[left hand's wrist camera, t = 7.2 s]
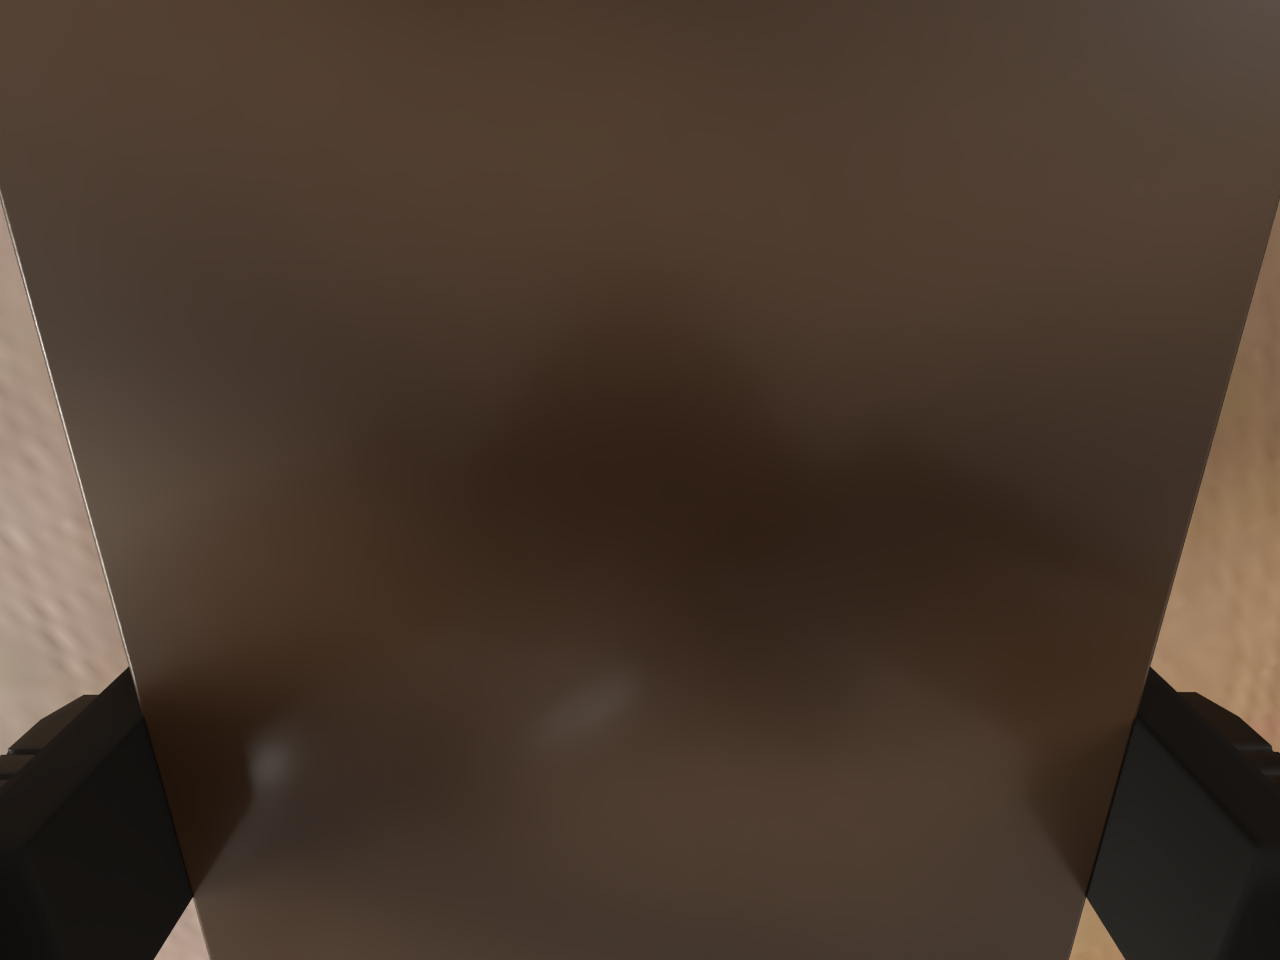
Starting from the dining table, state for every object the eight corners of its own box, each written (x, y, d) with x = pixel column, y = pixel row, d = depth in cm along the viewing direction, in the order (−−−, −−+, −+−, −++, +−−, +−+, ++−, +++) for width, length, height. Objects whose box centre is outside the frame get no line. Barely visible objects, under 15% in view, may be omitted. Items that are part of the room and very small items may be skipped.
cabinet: (328, -165, 14) (-304, -878, 5) (951, -164, 14) (1583, -875, 5) (418, 612, 19) (216, 996, 10) (861, 612, 19) (1061, 997, 10)
